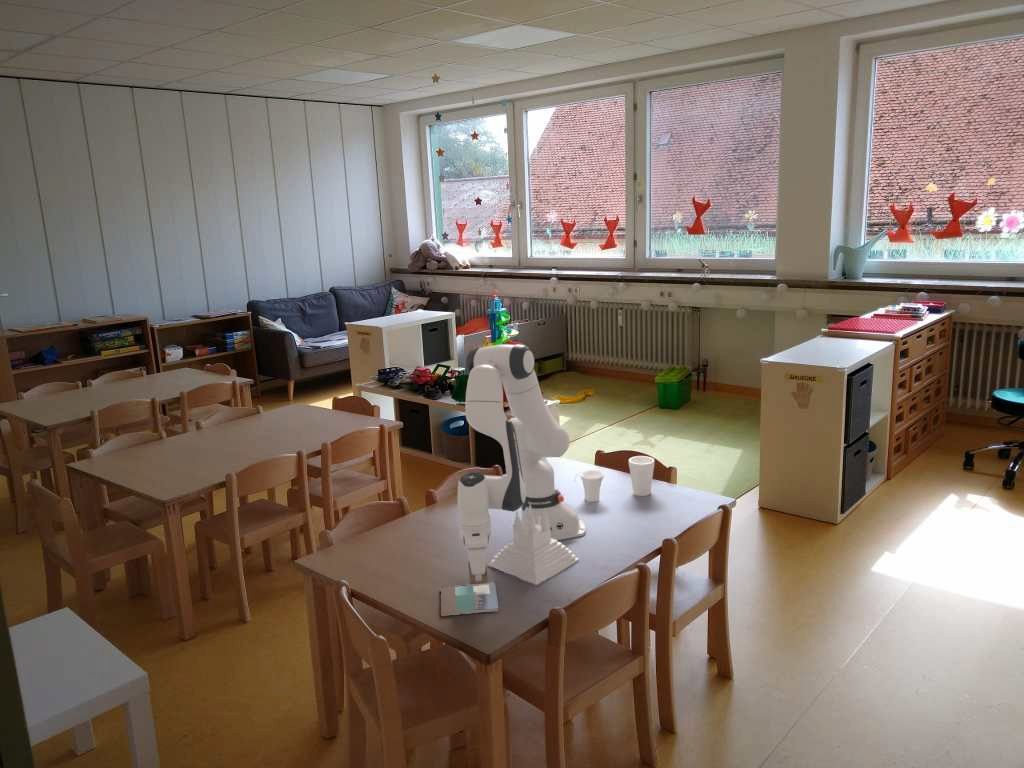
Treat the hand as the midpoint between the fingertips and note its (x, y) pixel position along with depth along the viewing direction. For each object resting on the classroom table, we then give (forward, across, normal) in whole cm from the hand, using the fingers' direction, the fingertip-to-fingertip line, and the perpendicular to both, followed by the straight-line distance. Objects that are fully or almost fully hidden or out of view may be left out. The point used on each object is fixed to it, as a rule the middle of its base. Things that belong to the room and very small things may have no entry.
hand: (478, 574), depth 221 cm
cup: (+6, -63, +46) cm, 78 cm away
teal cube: (+5, +8, -4) cm, 11 cm away
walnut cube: (+2, 0, 0) cm, 2 cm away
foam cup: (+6, -65, +64) cm, 92 cm away
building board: (+6, +4, -3) cm, 8 cm away
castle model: (+6, -16, +18) cm, 25 cm away
